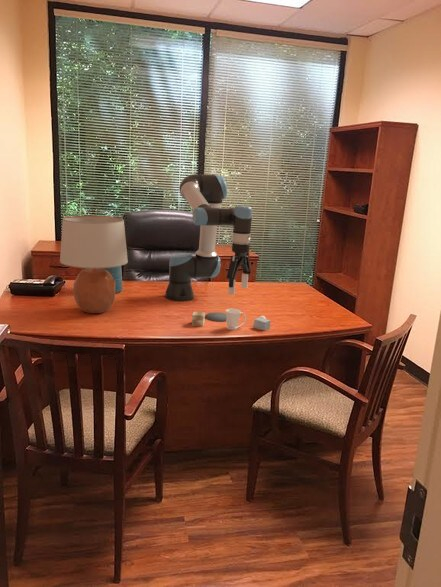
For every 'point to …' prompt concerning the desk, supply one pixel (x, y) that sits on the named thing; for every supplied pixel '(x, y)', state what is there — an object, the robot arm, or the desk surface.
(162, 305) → the desk surface
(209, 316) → the coaster
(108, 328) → the desk surface
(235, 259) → the robot arm
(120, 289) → the vase
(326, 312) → the desk surface
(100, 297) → the lamp
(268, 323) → the greyblue block
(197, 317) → the birch block
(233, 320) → the cup
